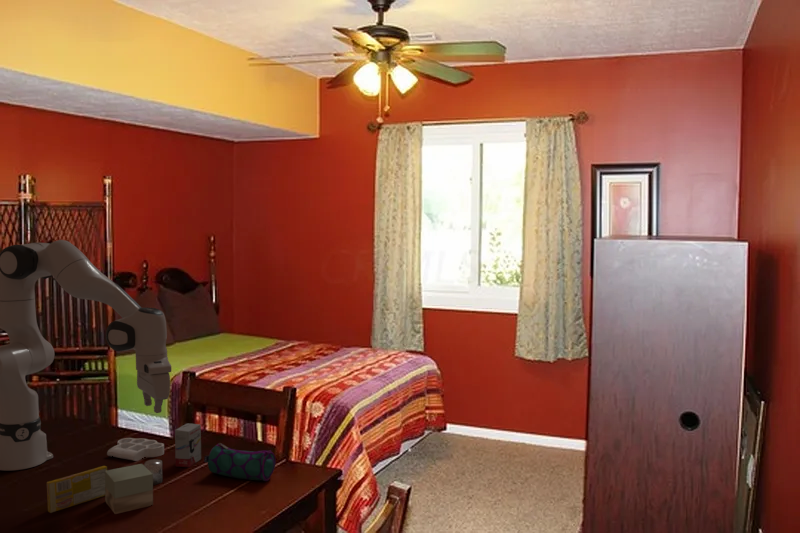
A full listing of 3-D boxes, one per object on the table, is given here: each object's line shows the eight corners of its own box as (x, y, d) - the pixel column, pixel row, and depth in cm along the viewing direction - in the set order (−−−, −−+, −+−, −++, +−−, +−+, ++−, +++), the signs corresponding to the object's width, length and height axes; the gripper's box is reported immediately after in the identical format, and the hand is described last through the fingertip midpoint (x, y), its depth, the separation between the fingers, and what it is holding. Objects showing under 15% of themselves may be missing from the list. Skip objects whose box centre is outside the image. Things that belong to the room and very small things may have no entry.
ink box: (188, 468, 218) (188, 431, 217) (174, 466, 219) (174, 430, 218) (201, 458, 226) (201, 423, 225) (188, 457, 227) (187, 422, 226)
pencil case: (203, 477, 210) (203, 446, 210) (220, 467, 218) (220, 438, 218) (263, 486, 203) (263, 455, 202) (278, 476, 211) (278, 445, 211)
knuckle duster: (99, 457, 228) (133, 444, 242) (141, 465, 221) (173, 451, 234) (99, 447, 228) (132, 434, 241) (141, 454, 221) (173, 441, 234)
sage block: (105, 486, 191) (104, 470, 191) (142, 478, 197) (141, 463, 197) (114, 498, 183) (114, 481, 183) (152, 490, 189) (152, 474, 189)
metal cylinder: (142, 481, 207) (142, 461, 206) (159, 477, 209) (159, 458, 209) (147, 486, 203) (147, 466, 202) (164, 482, 205) (164, 463, 205)
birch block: (105, 502, 191) (105, 486, 191) (142, 494, 197) (142, 479, 197) (115, 515, 183) (114, 498, 183) (153, 506, 189) (152, 490, 189)
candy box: (105, 493, 198) (104, 464, 197) (108, 495, 196) (108, 466, 196) (46, 511, 185) (46, 481, 184) (50, 513, 184) (49, 483, 183)
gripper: (131, 358, 210) (132, 403, 211) (151, 370, 194) (152, 418, 195) (152, 356, 214) (153, 399, 215) (173, 367, 197) (174, 414, 198)
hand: (152, 408), depth 204 cm, fingers open, 8 cm apart
